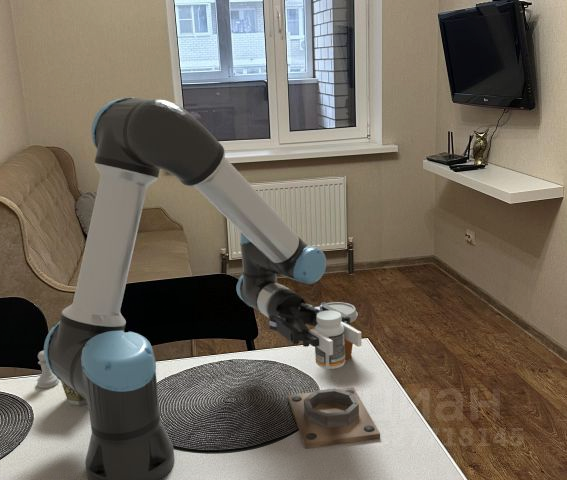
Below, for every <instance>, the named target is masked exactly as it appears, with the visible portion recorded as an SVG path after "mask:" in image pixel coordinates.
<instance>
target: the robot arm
mask: <svg viewBox="0 0 567 480" xmlns="http://www.w3.org/2000/svg"><path fill="white" fill-rule="evenodd" d="M90 131H91V133H90V134H91V140H92V143H93V144H94V146H95V149H96V153H95V159H94V162H93V163H94V164H93V165H94V167H95V168H96V171H98V173H99V181H98V187H97V191H96V196H95V200H94V204H93V209H92V214H91V218H90V221H89V222H90V224H89V228H88V232H87V237H86V241H85V246H84V250H83V255H82V260H81V265H80V268H79V273H78V278H77V283H76V287H75V292H74V296H73V301H72V303H71V304H70V305H68V306H66V307H65V308H64V309H62V311H61V314H60V319H59V321H58V322H57V324H56V325H54V326H53V327H52V328H51V329H50V330H49V331H48V334H47V336H46V338H45V340H44V345H43V351H44V357H45V360H46V363H47V365H48V367H49V368H50V370H51V371H52V373H53V374H54V375H55V376H56V377H57V378H58V379H59V382H61V381H62V382H63V383H65V384H67V385H68V386H69V387H71V388H72V389H73V390H74V391H76V392H77V393H78V394H79V395H81V396H82V397H83V398H84V399H86V401H87V403H88V404H87V407H88V416H89V420H90V428H91V435H90V439H89V443H88V449H87V453H86V457H85V464H84V465H85V472H86V477H87V480H163V478H165V477H166V476H167V475H168V474H169V473H170V472H171V470H172V469H173V466H174V463H175V451H174V445H173V442H172V440H171V439H170V437H169V434H168V433H167V431H166V428H165V426H164V424H163V423H162V420H161V413H160V402H159V401H160V400H159V393H158V382H157V380H158V379H157V371H156V370H157V362H156V357H155V354H154V350H153V347H152V345H151V343H150V341H149V340H148V339H147V338H146V337H145V336H143V335H141V334H140V333H137V332H134V331H128V332H125V328H126V323H127V321H126V319H125V317H124V316H123V315H122V313H121V307H122V303H123V299H124V294H125V290H126V285H127V280H128V276H129V272H130V267H131V262H132V258H133V254H134V249H135V244H136V240H137V237H138V230H139V228H140V227H139V226H140V223H141V218H142V212H143V209H144V203H145V199H146V194H147V189H148V187H149V186H150V185H151V184H154V183H155V182H156V181H157V180H159V174H160V170H162V171H165V172H167V173H169V174H170V175H172V176H174V177H175V178H176V179H177V180H178V181H179V182H181V184H183V185H184V186H186V187H189V188H193V187H194V188H195V189H196V190H197V191H198V192H199V193H200V194H201V195H202V196H203V197H204V198H205V199H206V200H208V201H209V203H210V204H211V205H213V207H214V208H216V209H217V211H219V213H220V214H222V215H223V216H224V217H225V218H226V219H227V220H228V221H229V222H230V223H231V224H232V225H233V226H234V227H235V228H236V229H238V231H240V243H239V245H240V252H241V261H242V274H241V275H240V277H239V278H238V281H237V282H236V283H237V284H236V293H237V296H238V297H239V299H240V300H242V301H243V302H244V304H246V305H247V306H248V307H251V308H252V309H255V310H256V311H258V312H260V313H261V314H262V315H264V316H265V317H267V318H268V320H269V329H270V330H273V331H275V332H278V334H280V335H281V336H282V337H284V338H285V339H287V341H290V342H291V343H292V344H294V345H298V344H299V343H300V342H302V346H303V347H306V348H307V347H309V346H312V347H314V348H315V347H317V348H319V349H320V350H322V351H323V352H325V353H326V354H328V355H333V341H332V340H331V339H329V338H328V337H326V336H324V335H323V334H321V333H319V332H318V331H316V330H315V328H311V329H309V328H308V326H307V325H309V326H312V327H315V326H316V325H317V324H318V323H317V321H316V316H317V314H318V313H319V312H322V311H329V310H330V311H337V312H339V313H340V314H341V317H342V321H341V323H340V324H342V325H343V327H344V332H345V339H346V340H348V341H349V342H351V343H353V345H355V346H357V348H358V347H362V332H361V330H358V329H356V327H355V328H354V327H353V326H351V325H350V316H348V315H346V314H344V313H342V312H340V311H338V310H336V309H334V308H332V307H330V306H328V305H327V302H320V305H319V306H314V305H313V304H308V303H307V302H306V301H305V299H304V298H303V296H302V295H301V294H298V293H297V292H295V291H293V290H291V288H288V287H286V286H285V285H283V284H280V283H279V282H278V279H277V278H278V276H281V277H285V278H288V279H290V280H293V281H295V282H298V283H304V284H309V285H311V284H314V283H315V284H316V283H317V282H318V281H320V279H322V277H323V276H324V274H325V272H326V268H327V256H326V255H325V253H324V251H323V250H322V249H320V248H318V247H315V246H313V245H308V244H306V242H305V241H303V239H302V238H301V237H300V236H298V234H297V233H296V232H295V231H294V230H293V229H292V228H291V227H290V225H288V224H287V222H286V221H284V219H283V218H282V217H281V216H280V215H279V214H278V212H276V210H275V209H274V208H273V207H272V206H271V205H270V204H269V203H268V201H266V199H264V198H263V197H262V195H260V193H259V192H258V191H257V190H256V189H255V187H253V186H252V185H251V183H249V181H248V180H247V179H246V178H245V177H244V176H243V175H242V174H241V173H240V172H239V171H238V170H237V168H236V167H235V166H234V165H233V164H232V163H231V162H230V161H229V160H228V159H227V158H226V150H225V147H224V146H223V145H222V144H221V143H220V142H219V140H217V139H216V137H215V136H214V135H213V134H212V132H210V131H209V130H208V129H207V128H206V127H205V126H204V125H203V124H202V123H201V121H199V120H198V119H197V118H196V117H195V116H193V115H192V114H191V113H190V112H189V111H188V110H186V109H185V108H183V107H182V106H180V105H178V104H176V103H174V102H172V101H170V100H167V99H159V98H158V99H157V98H154V99H149V98H139V97H138V98H137V97H123V98H119V99H115V100H111V101H109V102H107V103H106V104H105V105H103V106H102V107H101V108H100V109H99V110H98V111H97V112H96V114H95V117H94V118H93V120H92V124H91V130H90ZM277 275H278V276H277Z"/></svg>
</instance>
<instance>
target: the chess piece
mask: <svg viewBox="0 0 567 480" xmlns="http://www.w3.org/2000/svg"><path fill="white" fill-rule="evenodd" d="M37 358H38V360H39V361H38V362H37V364H38V365H40V367H41V374H40V376H39V377H38V378H37V379H36V381H37V383H36V386H37V387H38V388H39V389H50V388H53V387H55V386H57V385H58V384H59V382H60V380H59V379H58V378H57V377H56V376H55V375H54V374H53V373H52V371H51V370H50V368H49V367H48V365H47V363H46V360H45V357H44V350H41V351H39V352H38V354H37Z"/></svg>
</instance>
